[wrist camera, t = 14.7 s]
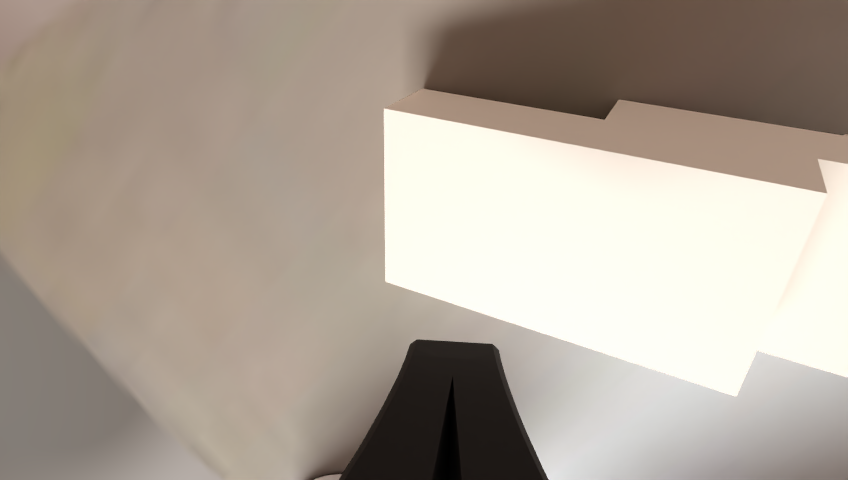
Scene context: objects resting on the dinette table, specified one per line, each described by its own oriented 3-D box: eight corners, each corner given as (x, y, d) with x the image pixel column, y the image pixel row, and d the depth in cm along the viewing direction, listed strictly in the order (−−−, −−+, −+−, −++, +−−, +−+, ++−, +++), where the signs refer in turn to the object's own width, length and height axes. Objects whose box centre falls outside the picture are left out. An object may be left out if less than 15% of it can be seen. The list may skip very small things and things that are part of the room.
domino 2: (618, 99, 14) (1078, 173, 11) (583, 260, 17) (947, 359, 14) (603, 121, 13) (1133, 214, 10) (567, 294, 15) (973, 415, 12)
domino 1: (422, 88, 15) (816, 156, 11) (418, 249, 17) (738, 343, 14) (383, 108, 13) (827, 193, 10) (385, 281, 16) (736, 397, 12)
